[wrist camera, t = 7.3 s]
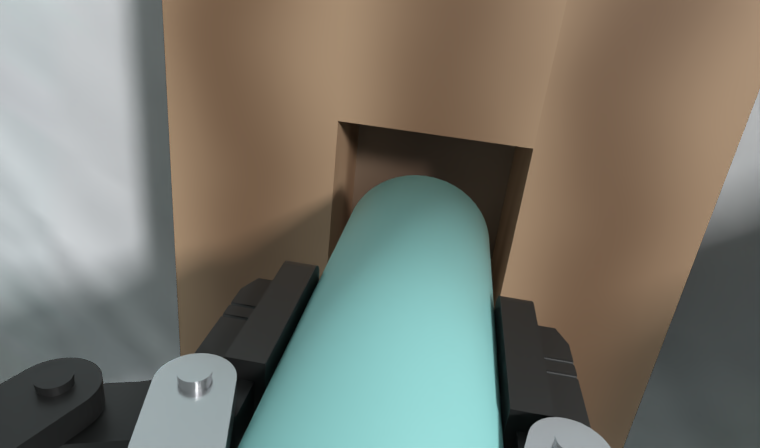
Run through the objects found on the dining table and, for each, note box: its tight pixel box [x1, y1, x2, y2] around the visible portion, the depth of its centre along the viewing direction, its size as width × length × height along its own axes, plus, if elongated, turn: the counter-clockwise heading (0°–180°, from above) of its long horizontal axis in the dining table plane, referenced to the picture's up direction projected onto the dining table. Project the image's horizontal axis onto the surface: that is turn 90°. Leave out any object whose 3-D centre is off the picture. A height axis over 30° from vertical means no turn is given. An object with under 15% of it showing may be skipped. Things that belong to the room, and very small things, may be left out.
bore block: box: [162, 0, 760, 448], centre depth 20 cm, size 16×16×5 cm
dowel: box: [238, 175, 504, 448], centre depth 11 cm, size 4×4×12 cm
